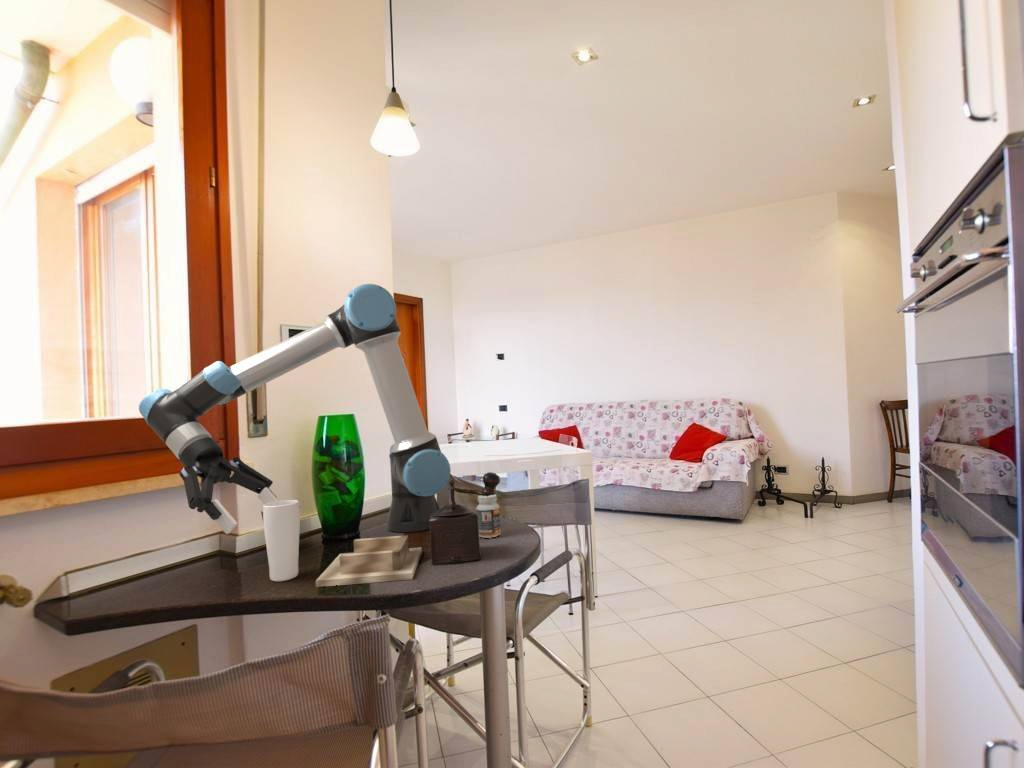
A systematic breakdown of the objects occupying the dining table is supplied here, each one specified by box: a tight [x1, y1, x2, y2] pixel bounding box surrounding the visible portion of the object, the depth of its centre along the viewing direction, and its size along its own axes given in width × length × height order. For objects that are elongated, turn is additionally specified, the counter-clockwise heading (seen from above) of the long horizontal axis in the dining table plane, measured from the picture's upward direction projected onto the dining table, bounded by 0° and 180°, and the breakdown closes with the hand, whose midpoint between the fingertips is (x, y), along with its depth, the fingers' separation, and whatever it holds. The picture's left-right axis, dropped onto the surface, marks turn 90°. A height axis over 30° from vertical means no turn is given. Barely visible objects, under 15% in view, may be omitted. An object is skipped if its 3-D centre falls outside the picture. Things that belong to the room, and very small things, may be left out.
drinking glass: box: [262, 499, 301, 582], centre depth 106 cm, size 7×7×15 cm
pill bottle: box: [475, 494, 502, 538], centre depth 130 cm, size 6×6×10 cm
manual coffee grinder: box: [429, 471, 501, 566], centre depth 115 cm, size 16×11×18 cm
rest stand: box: [315, 534, 423, 588], centre depth 109 cm, size 18×18×5 cm
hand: (258, 520), depth 107 cm, fingers open, 13 cm apart
